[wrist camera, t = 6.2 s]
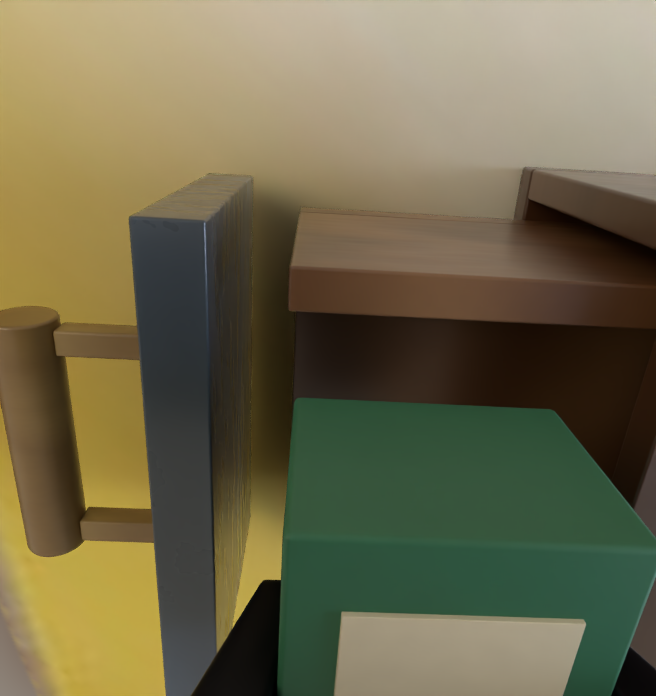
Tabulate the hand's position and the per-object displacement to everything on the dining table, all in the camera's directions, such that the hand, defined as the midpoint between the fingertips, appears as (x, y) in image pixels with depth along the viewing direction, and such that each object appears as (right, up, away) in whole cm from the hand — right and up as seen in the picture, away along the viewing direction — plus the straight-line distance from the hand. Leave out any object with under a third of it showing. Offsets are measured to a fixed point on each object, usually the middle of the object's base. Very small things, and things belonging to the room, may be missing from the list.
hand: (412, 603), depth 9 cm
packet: (0, 0, +1) cm, 1 cm away
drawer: (0, +3, +8) cm, 9 cm away
